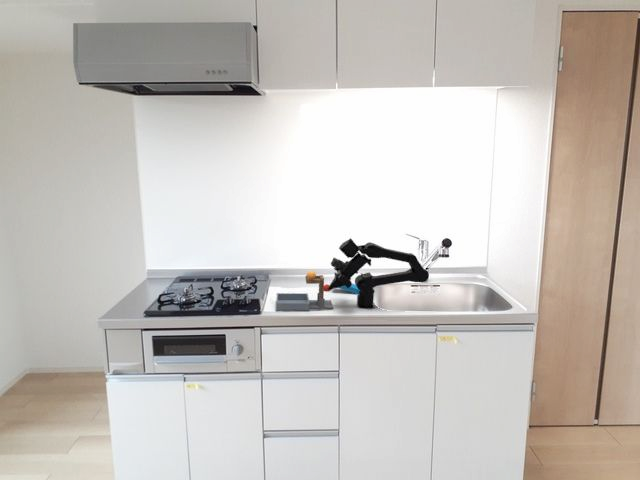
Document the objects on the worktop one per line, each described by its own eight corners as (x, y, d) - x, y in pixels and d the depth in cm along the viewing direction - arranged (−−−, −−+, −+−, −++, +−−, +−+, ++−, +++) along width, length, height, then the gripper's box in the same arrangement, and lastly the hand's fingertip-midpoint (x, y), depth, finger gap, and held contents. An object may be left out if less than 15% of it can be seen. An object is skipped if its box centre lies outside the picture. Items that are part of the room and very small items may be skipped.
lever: (357, 299, 230) (323, 287, 231) (362, 286, 229) (327, 275, 230) (357, 303, 224) (321, 291, 225) (361, 290, 222) (326, 278, 223)
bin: (307, 300, 211) (307, 293, 210) (309, 311, 197) (309, 303, 196) (276, 300, 210) (276, 293, 209) (276, 311, 196) (276, 303, 195)
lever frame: (330, 302, 210) (331, 292, 209) (333, 309, 200) (333, 299, 199) (308, 302, 209) (309, 292, 208) (310, 309, 199) (310, 299, 198)
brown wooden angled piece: (322, 298, 207) (322, 274, 205) (323, 303, 201) (324, 279, 199) (305, 298, 207) (305, 274, 205) (305, 303, 200) (306, 278, 198)
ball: (317, 276, 204) (313, 268, 203) (317, 279, 200) (314, 270, 199) (308, 280, 204) (305, 272, 203) (309, 282, 200) (305, 274, 199)
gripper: (339, 247, 210) (314, 271, 211) (345, 256, 192) (317, 282, 193) (355, 264, 212) (331, 287, 213) (363, 275, 194) (335, 300, 195)
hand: (328, 289), depth 203 cm, fingers closed
